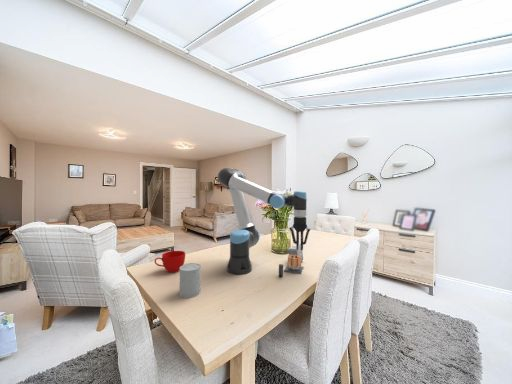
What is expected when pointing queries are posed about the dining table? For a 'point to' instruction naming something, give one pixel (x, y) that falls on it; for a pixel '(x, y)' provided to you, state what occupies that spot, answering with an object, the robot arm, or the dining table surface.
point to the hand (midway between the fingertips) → (299, 255)
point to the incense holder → (294, 251)
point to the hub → (294, 269)
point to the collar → (294, 260)
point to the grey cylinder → (190, 280)
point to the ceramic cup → (172, 260)
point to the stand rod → (280, 270)
